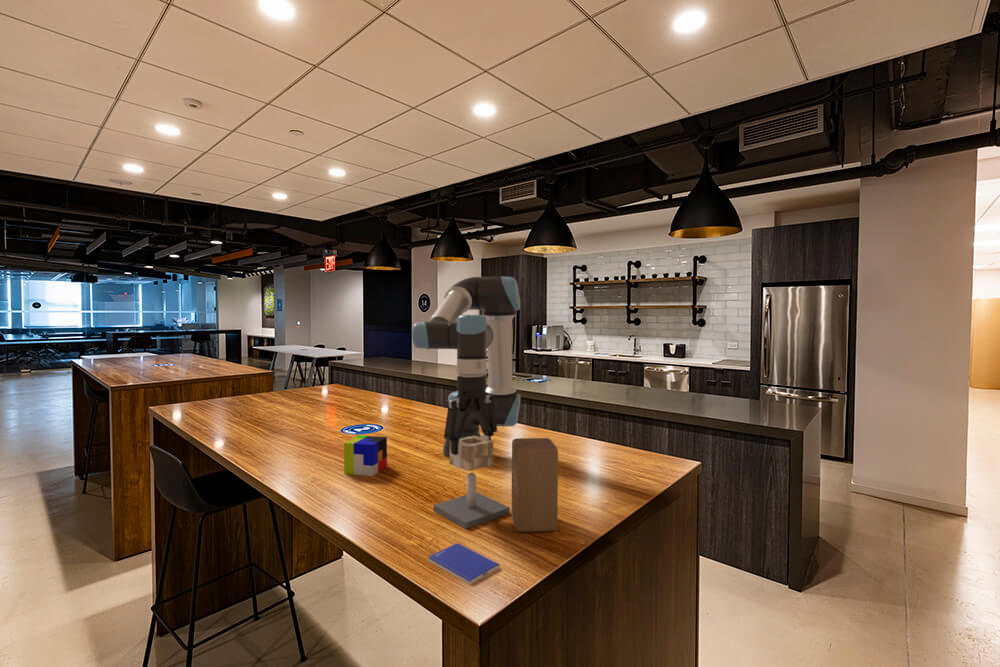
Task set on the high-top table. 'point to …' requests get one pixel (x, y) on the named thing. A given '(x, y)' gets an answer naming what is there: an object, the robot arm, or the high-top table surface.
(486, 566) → the hard drive
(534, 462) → the wooden block
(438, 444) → the high-top table surface
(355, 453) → the puzzle toy
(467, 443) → the maple bead
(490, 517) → the post board
